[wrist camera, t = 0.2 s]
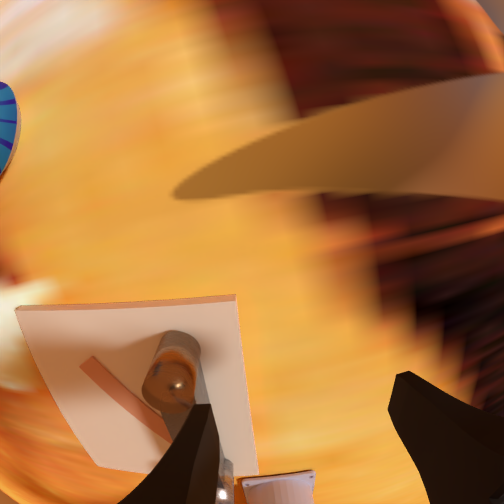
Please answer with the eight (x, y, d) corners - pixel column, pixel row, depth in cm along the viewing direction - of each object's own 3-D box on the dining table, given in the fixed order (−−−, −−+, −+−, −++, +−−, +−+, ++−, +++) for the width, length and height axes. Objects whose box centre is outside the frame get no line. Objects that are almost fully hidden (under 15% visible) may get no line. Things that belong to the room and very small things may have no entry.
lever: (235, 473, 22) (236, 511, 18) (199, 474, 22) (196, 511, 18) (203, 329, 18) (195, 375, 13) (149, 332, 18) (128, 375, 13)
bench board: (258, 467, 24) (259, 476, 23) (99, 459, 24) (97, 467, 22) (235, 294, 19) (236, 302, 18) (20, 305, 18) (13, 311, 17)
